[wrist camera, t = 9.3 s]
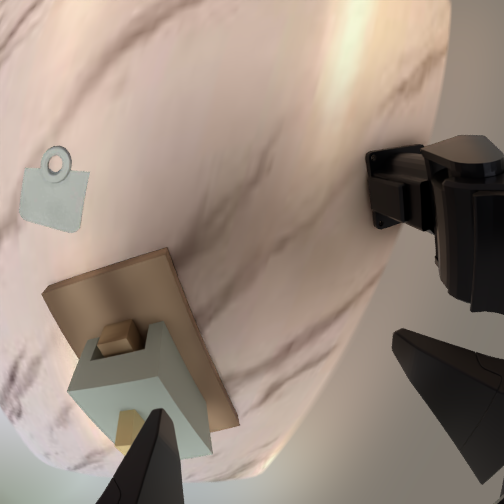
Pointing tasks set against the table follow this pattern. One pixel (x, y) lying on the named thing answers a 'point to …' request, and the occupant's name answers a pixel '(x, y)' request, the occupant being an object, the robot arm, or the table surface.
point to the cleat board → (138, 320)
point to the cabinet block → (142, 393)
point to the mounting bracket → (54, 193)
